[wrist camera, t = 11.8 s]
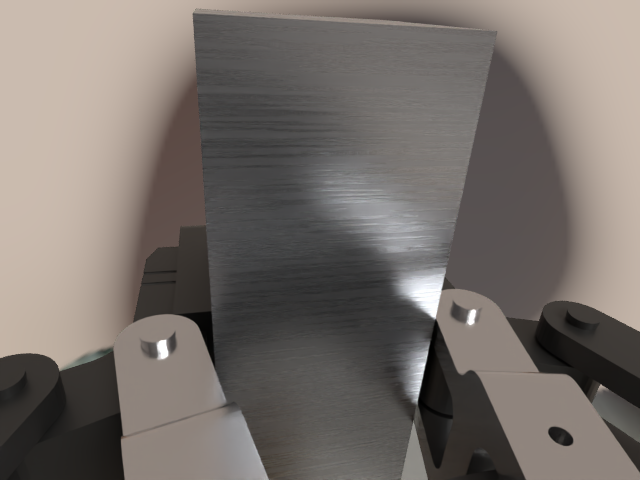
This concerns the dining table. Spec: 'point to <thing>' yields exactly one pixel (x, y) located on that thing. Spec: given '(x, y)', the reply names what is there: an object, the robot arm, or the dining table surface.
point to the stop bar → (331, 223)
